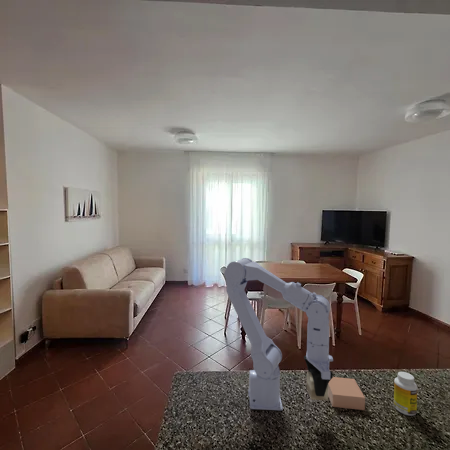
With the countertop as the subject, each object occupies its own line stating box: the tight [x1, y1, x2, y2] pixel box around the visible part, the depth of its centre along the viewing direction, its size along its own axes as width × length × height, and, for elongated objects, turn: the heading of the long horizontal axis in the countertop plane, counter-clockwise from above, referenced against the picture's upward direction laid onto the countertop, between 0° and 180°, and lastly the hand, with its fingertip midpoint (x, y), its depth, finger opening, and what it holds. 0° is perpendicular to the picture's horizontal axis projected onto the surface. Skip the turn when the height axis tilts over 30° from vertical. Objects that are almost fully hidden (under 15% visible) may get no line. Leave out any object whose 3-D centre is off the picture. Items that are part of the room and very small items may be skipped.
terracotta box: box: [328, 376, 366, 411], centre depth 80 cm, size 9×9×4 cm
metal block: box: [306, 371, 329, 401], centre depth 72 cm, size 4×4×5 cm
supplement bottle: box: [393, 371, 418, 417], centre depth 75 cm, size 6×6×10 cm
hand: (317, 389), depth 72 cm, fingers closed on metal block, 4 cm apart
